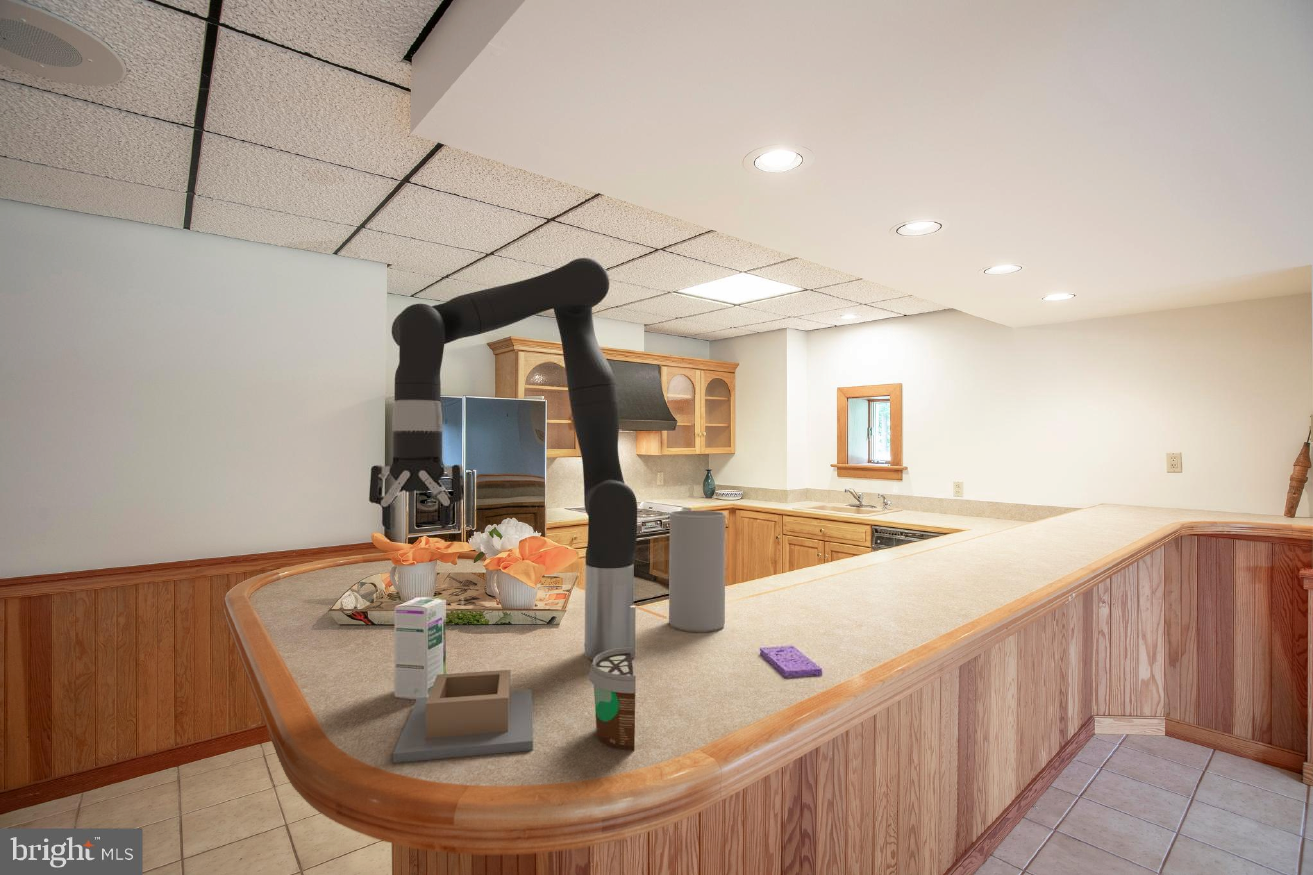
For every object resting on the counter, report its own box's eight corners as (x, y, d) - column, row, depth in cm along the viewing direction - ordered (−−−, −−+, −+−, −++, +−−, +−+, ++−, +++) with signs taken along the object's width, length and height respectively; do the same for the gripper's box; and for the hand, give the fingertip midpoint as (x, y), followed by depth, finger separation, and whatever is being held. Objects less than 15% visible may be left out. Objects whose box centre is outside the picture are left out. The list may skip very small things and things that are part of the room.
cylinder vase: (665, 617, 141) (666, 510, 141) (718, 616, 142) (718, 510, 143) (672, 634, 128) (673, 516, 129) (730, 632, 130) (731, 516, 130)
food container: (589, 715, 89) (589, 646, 89) (630, 714, 89) (631, 646, 90) (586, 757, 77) (587, 678, 77) (635, 756, 77) (635, 677, 77)
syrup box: (426, 700, 93) (428, 606, 94) (392, 697, 94) (394, 604, 95) (446, 686, 99) (447, 597, 99) (414, 683, 100) (415, 595, 100)
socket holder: (531, 697, 95) (532, 660, 95) (532, 750, 78) (533, 705, 78) (417, 705, 91) (417, 668, 92) (392, 763, 75) (393, 716, 75)
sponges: (792, 654, 118) (792, 644, 118) (823, 678, 106) (823, 667, 106) (758, 656, 116) (759, 646, 117) (785, 680, 104) (785, 669, 104)
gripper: (467, 430, 103) (467, 525, 103) (379, 430, 101) (379, 527, 101) (458, 428, 95) (458, 531, 95) (363, 428, 94) (363, 533, 93)
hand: (417, 529), depth 98 cm, fingers open, 8 cm apart
